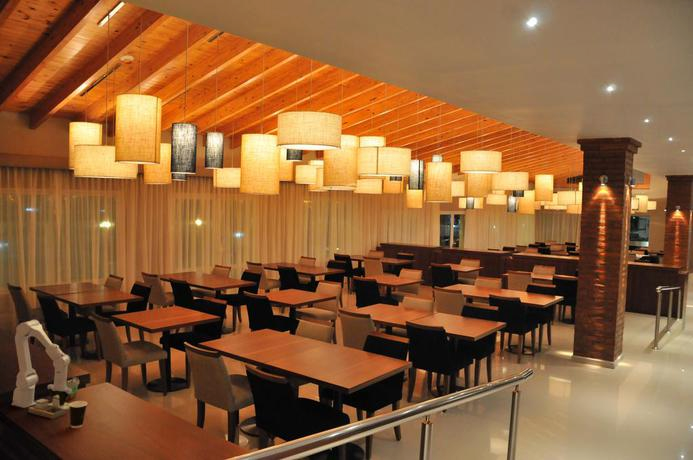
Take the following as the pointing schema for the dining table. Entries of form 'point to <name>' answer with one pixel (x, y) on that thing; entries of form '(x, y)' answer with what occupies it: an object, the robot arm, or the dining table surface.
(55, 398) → the plug
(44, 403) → the beige block
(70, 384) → the food container
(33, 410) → the grey cubby shelf
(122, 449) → the dining table surface
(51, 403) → the tray
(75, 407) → the dixie cup
